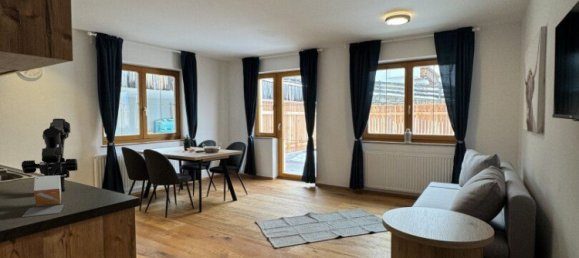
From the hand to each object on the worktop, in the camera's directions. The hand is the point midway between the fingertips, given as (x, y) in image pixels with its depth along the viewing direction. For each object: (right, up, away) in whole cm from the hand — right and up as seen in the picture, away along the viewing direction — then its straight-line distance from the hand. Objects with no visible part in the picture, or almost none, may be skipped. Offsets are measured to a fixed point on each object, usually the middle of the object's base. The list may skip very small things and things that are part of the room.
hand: (48, 182), depth 130 cm
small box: (0, -7, +1) cm, 7 cm away
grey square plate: (+4, -10, -8) cm, 13 cm away
